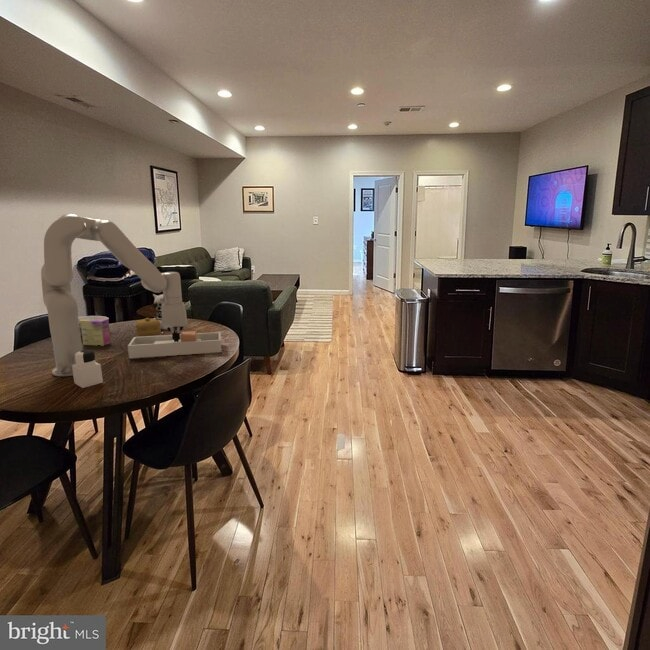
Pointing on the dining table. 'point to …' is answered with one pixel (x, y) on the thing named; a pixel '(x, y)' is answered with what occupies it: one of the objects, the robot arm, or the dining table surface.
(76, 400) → the dining table surface
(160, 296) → the decorative figurine
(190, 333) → the block
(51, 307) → the robot arm
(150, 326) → the pot
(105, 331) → the box
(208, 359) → the dining table surface
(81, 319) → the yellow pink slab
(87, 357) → the medicine bottle
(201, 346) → the channel
